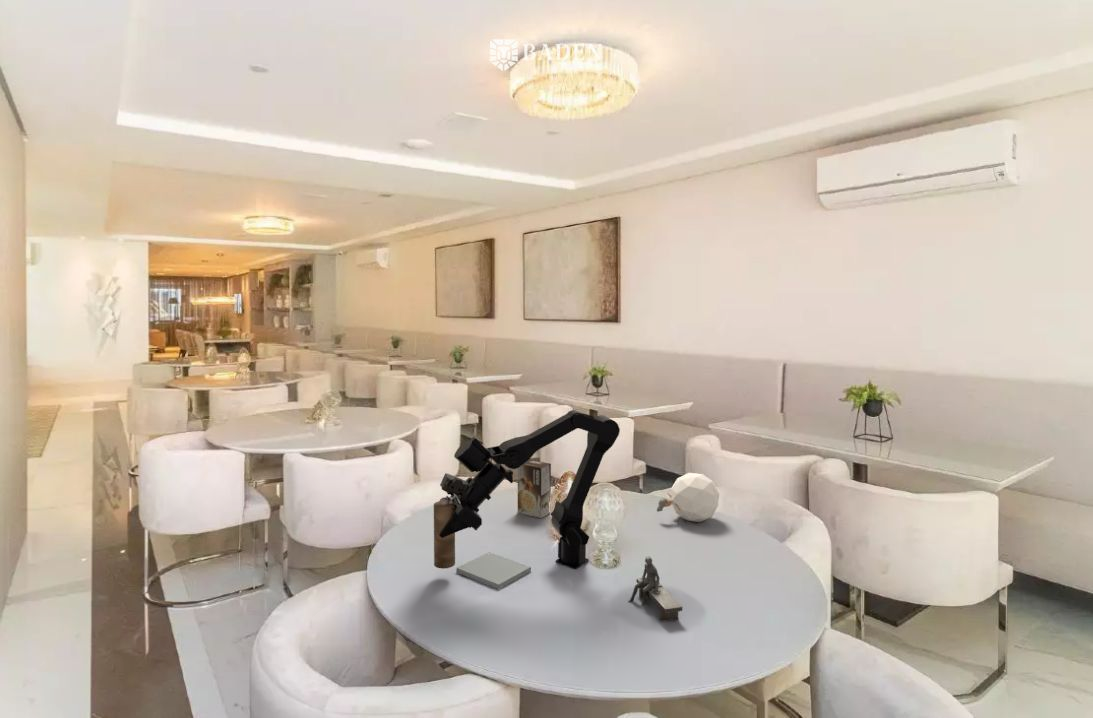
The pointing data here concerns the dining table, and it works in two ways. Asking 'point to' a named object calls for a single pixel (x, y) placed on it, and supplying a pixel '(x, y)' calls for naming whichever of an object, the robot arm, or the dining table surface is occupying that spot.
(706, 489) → the faceted white ball
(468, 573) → the slate board
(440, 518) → the pepper mill
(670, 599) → the sculpture
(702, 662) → the dining table surface
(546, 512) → the coffee box
